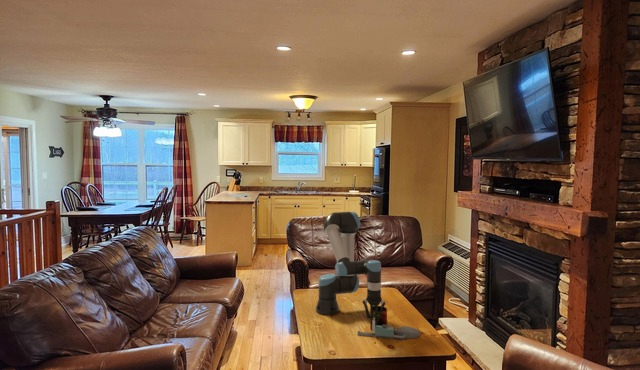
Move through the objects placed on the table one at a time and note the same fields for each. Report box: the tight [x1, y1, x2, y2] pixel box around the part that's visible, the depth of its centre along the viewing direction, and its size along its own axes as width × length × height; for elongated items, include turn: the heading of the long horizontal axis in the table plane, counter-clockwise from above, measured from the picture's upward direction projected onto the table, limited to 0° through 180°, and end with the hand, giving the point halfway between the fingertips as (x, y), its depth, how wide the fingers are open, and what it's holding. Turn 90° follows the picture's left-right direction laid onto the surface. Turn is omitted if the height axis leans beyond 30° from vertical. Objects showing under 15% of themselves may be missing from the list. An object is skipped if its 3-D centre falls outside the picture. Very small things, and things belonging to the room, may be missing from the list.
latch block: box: [374, 325, 395, 337], centre depth 208 cm, size 4×10×5 cm, turn 77°
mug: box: [369, 305, 388, 331], centre depth 220 cm, size 10×14×12 cm
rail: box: [357, 330, 406, 341], centre depth 209 cm, size 2×26×2 cm, turn 77°
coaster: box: [394, 325, 421, 339], centre depth 213 cm, size 14×14×1 cm
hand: (373, 330), depth 209 cm, fingers closed
